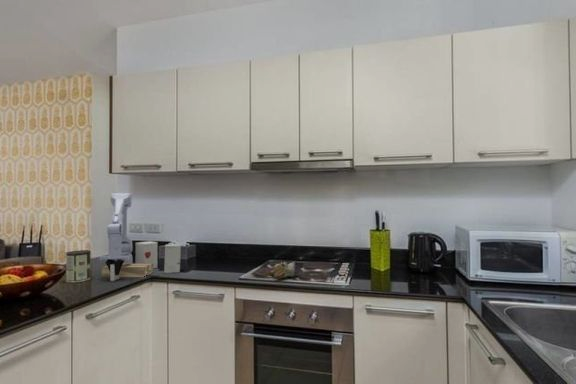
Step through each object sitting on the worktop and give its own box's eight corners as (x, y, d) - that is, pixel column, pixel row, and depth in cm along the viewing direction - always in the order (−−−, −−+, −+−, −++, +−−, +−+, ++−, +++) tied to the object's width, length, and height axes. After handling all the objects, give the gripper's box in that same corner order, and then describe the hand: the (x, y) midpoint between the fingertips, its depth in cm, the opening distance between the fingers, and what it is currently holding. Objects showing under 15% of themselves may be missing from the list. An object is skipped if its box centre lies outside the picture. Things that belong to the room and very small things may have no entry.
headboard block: (113, 272, 179) (113, 263, 179) (152, 272, 178) (152, 263, 178) (101, 277, 168) (101, 267, 168) (143, 277, 167) (143, 267, 167)
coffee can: (79, 277, 169) (79, 249, 169) (95, 278, 166) (95, 250, 166) (60, 282, 159) (60, 252, 159) (77, 283, 156) (77, 253, 156)
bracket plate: (115, 278, 165) (115, 262, 165) (119, 278, 165) (119, 262, 165) (110, 280, 160) (110, 264, 160) (114, 280, 160) (114, 264, 160)
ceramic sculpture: (299, 260, 163) (272, 265, 156) (300, 277, 163) (273, 283, 156) (289, 257, 173) (263, 261, 166) (290, 273, 173) (264, 278, 165)
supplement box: (143, 270, 183) (143, 243, 183) (134, 268, 188) (134, 242, 189) (158, 267, 190) (158, 242, 191) (149, 266, 196) (149, 240, 196)
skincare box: (164, 273, 176) (164, 245, 176) (164, 271, 181) (164, 244, 182) (180, 272, 178) (180, 245, 178) (180, 270, 184) (180, 243, 184)
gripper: (95, 248, 159) (95, 276, 159) (124, 248, 159) (124, 276, 158) (104, 246, 166) (104, 273, 166) (132, 246, 166) (132, 273, 165)
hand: (114, 274), depth 163 cm, fingers closed on bracket plate, 2 cm apart
